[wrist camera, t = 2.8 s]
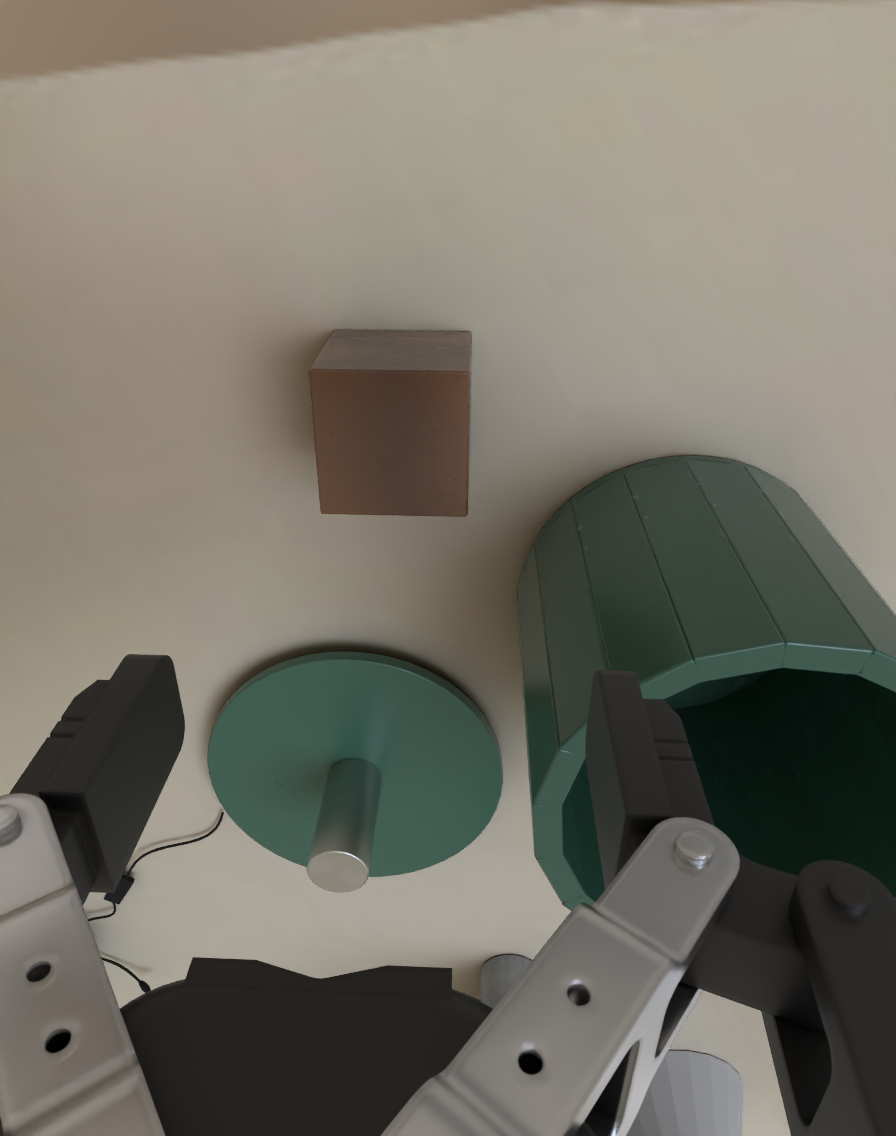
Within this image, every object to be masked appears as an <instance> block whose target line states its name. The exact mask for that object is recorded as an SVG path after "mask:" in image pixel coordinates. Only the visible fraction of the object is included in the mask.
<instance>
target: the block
mask: <svg viewBox="0 0 896 1136" xmlns="http://www.w3.org/2000/svg"><path fill="white" fill-rule="evenodd" d="M471 354H472V333H471V332H468V331H393V330H334V331H333V333H332V335H331V336H330V338H329V339H328V341H327V342H326V344H325V346H324V347H323V349H322V350H321V352H320V354H319V355H318V357H317V358H316V360H315V361H314V363H313V365H312V366H311V368H310V369H309V379H310V391H311V403H312V415H313V427H314V439H315V451H316V462H317V474H318V486H319V498H320V510H321V513H322V514H359V515H409V516H460V517H465V516H467V515H468V489H469V460H470V407H471Z"/></svg>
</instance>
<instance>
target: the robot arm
mask: <svg viewBox="0 0 896 1136" xmlns="http://www.w3.org/2000/svg"><path fill="white" fill-rule="evenodd" d="M184 731H185V721H184V714H183V709H182V704H181V699H180V694H179V689H178V684H177V679H176V674H175V669H174V665H173V661H172V659H171V658H170V657H169V656H167V655H138V654H129V655H127V656H125V657H124V659H123V660H122V662H121V663H120V665H119V666H118V668H117V670H116V671H115V673H114V674H113V676H112V677H111V679H110V680H97V681H96V682H94V683H93V684H92V685H90V686H89V687H88V688H86V689H85V690H84V691H82V692H81V693H80V694H78V695H77V696H76V697H75V698H74V699H73V701H72V702H71V704H70V705H69V707H68V708H67V710H66V711H65V712H64V714H63V715H62V717H61V721H58V723H57V724H56V726H55V727H54V729H53V730H52V732H51V733H50V738H49V737H47V739H46V740H45V742H44V743H43V745H42V746H41V748H40V749H39V751H38V752H37V754H36V755H35V756H34V758H33V759H32V761H31V762H30V764H29V765H28V767H27V768H26V770H25V771H24V773H23V774H22V776H21V777H20V778H19V780H18V781H17V783H16V784H15V786H14V787H13V789H12V790H11V792H10V793H9V794H7V795H3V796H0V1136H626V1135H627V1133H628V1131H629V1129H630V1127H631V1125H632V1123H633V1121H634V1119H635V1117H636V1115H637V1113H638V1111H639V1109H640V1107H641V1104H642V1102H643V1100H644V1097H645V1095H646V1092H647V1090H648V1087H649V1085H650V1083H651V1081H652V1079H653V1077H654V1075H655V1073H656V1071H657V1069H658V1067H659V1066H660V1064H661V1062H662V1060H663V1059H664V1057H665V1055H666V1053H667V1052H668V1050H669V1048H670V1047H671V1045H672V1043H673V1041H674V1040H675V1038H676V1036H677V1034H678V1033H679V1031H680V1029H681V1028H682V1026H683V1024H684V1022H685V1021H686V1019H687V1017H688V1015H689V1014H690V1012H691V1010H692V1008H693V1007H694V1005H695V1003H696V1002H697V1000H698V998H699V996H700V995H701V993H702V991H703V990H704V991H707V992H710V993H713V994H716V995H718V996H721V997H724V998H727V999H730V1000H732V1001H735V1002H738V1003H741V1004H744V1005H746V1006H749V1007H752V1008H755V1009H758V1010H760V1011H761V1012H762V1016H763V1020H764V1024H765V1029H766V1033H767V1037H768V1041H769V1045H770V1049H771V1054H772V1058H773V1062H774V1066H775V1070H776V1074H777V1079H778V1083H779V1087H780V1091H781V1095H782V1099H783V1103H784V1108H785V1112H786V1116H787V1120H788V1124H789V1128H790V1133H791V1136H896V901H895V899H894V897H893V895H892V894H891V893H890V891H889V890H888V889H887V888H886V887H885V886H884V885H883V884H882V882H880V881H879V880H878V879H877V878H876V877H874V876H873V875H871V874H870V873H868V872H867V871H865V870H863V869H861V868H859V867H857V866H854V865H852V864H849V863H846V862H842V861H836V860H820V861H816V862H812V863H810V864H808V865H807V866H805V867H804V868H803V869H802V870H801V872H800V874H799V875H798V876H797V875H793V874H790V873H787V872H783V871H780V870H777V869H773V868H770V867H767V866H764V865H761V864H758V863H756V862H753V861H751V860H749V859H747V858H746V857H744V856H742V855H741V854H739V853H738V851H737V849H736V847H735V845H734V844H733V842H732V841H731V840H730V839H729V838H728V837H727V835H726V834H724V833H723V832H722V831H721V830H719V829H718V828H716V827H715V824H714V821H713V818H712V815H711V812H710V809H709V806H708V803H707V799H706V796H705V793H704V790H703V787H702V784H701V780H700V777H699V774H698V771H697V768H696V765H695V761H693V755H692V752H691V749H690V746H689V744H688V742H687V740H688V739H687V736H686V733H685V730H684V727H683V723H682V720H681V718H680V717H679V716H678V715H677V713H676V712H675V711H674V710H673V709H672V708H671V707H670V706H669V705H668V704H667V702H666V701H665V700H664V699H643V697H642V693H641V689H640V685H639V682H638V678H637V674H636V672H635V671H614V670H595V672H594V675H593V681H592V689H591V697H590V705H589V713H588V721H587V729H586V741H585V753H586V766H587V773H588V780H589V786H590V793H591V799H592V806H593V813H594V819H595V826H596V832H597V839H598V845H599V852H600V858H601V865H602V872H603V878H604V885H605V891H604V892H603V894H602V895H601V896H600V897H599V899H598V900H597V901H596V902H595V903H594V904H593V905H592V906H589V905H588V904H586V903H581V904H579V905H578V906H576V907H575V908H574V909H573V910H572V911H571V913H570V914H569V915H568V916H567V917H566V919H565V920H564V921H563V922H562V924H561V925H560V926H559V928H558V929H557V930H556V931H555V933H554V934H553V935H552V936H551V938H550V939H549V940H548V941H547V943H546V944H545V945H544V946H543V948H542V949H541V950H540V951H539V953H538V954H537V955H536V956H535V958H534V959H533V960H532V961H531V963H530V964H529V965H528V966H527V968H526V969H525V970H524V971H523V973H522V974H521V975H520V976H519V978H518V979H517V980H516V981H515V983H514V984H513V985H512V986H511V988H510V989H509V990H508V991H507V993H506V994H505V995H504V997H503V998H502V999H501V1000H500V1002H499V1003H498V1004H497V1005H496V1007H495V1008H494V1009H493V1008H491V1007H489V1006H488V1005H486V1004H485V1003H483V1002H481V1001H480V1000H478V999H475V998H473V997H471V996H469V995H467V994H464V993H462V992H459V991H456V990H453V989H452V968H433V967H409V966H383V967H378V968H373V969H369V970H364V971H359V972H354V973H349V974H344V975H339V976H334V977H329V978H323V979H317V978H312V977H309V976H306V975H302V974H299V973H296V972H293V971H290V970H286V969H283V968H280V967H277V966H274V965H270V964H267V963H264V962H261V961H257V960H243V959H219V958H195V957H193V958H192V961H191V964H190V967H189V970H188V973H187V976H186V979H184V980H180V981H176V982H173V983H170V984H166V985H163V986H161V987H158V988H156V989H154V990H151V991H149V992H147V993H145V994H143V995H141V996H140V997H138V998H136V999H134V1000H132V1001H131V1002H129V1003H128V1004H126V1005H125V1006H123V1007H122V1008H120V1009H119V1006H118V1003H117V1000H116V997H115V995H114V992H113V989H112V986H111V984H110V981H109V978H108V975H107V972H106V970H105V967H104V964H103V961H102V958H101V956H100V953H99V950H98V947H97V944H96V942H95V939H94V936H93V933H92V930H91V928H90V925H89V922H88V919H87V916H86V914H85V911H84V908H83V904H84V902H85V900H86V898H87V896H88V894H89V892H104V893H114V892H115V890H116V888H117V886H118V884H119V881H120V879H121V877H122V875H123V873H124V871H125V869H126V866H127V864H128V862H129V860H130V858H131V856H132V853H133V851H134V849H135V847H136V845H137V843H138V841H139V838H140V836H141V834H142V832H143V830H144V828H145V826H146V823H147V821H148V819H149V817H150V815H151V813H152V810H153V808H154V806H155V804H156V802H157V800H158V798H159V795H160V793H161V791H162V789H163V787H164V785H165V782H166V780H167V778H168V776H169V774H170V772H171V770H172V767H173V765H174V763H175V761H176V759H177V757H178V755H179V752H180V750H181V747H182V744H183V739H184Z"/></svg>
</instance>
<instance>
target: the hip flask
mask: <svg viewBox="0 0 896 1136" xmlns="http://www.w3.org/2000/svg"><path fill="white" fill-rule="evenodd" d="M530 963H531V960H529V959H527V958H525V957H522V956H518V955H502V956H497V957H494V958H492V959H490V960H489V961H487V962H486V963H485V964H484V965H483V967H482V968H481V1002H483V1003H485V1004H486V1005H488V1006H489V1007H491V1008H493V1009H494V1008H495V1007H496V1005H497V1004H498V1003H499V1002H500V1000H501V999H502V998H503V997H504V995H505V994H506V993H507V991H508V990H509V989H510V988H511V986H512V985H513V984H514V983H515V981H516V980H517V979H518V978H519V976H520V975H521V974H522V973H523V971H524V970H525V969H526V968H527V966H528V965H529V964H530Z"/></svg>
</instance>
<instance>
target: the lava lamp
mask: <svg viewBox="0 0 896 1136" xmlns="http://www.w3.org/2000/svg"><path fill="white" fill-rule="evenodd" d="M742 1099H743V1084H742V1081H741V1079H740V1076H739V1073H738V1072H737V1071H736V1070H735V1069H733V1068H732V1067H731V1066H730V1065H729V1064H728V1063H726V1062H724V1061H722V1060H720V1059H717V1058H715V1057H713V1056H711V1055H707V1054H702V1053H697V1052H691V1051H668V1052H667V1053H666V1055H665V1057H664V1059H663V1060H662V1062H661V1064H660V1066H659V1067H658V1069H657V1071H656V1073H655V1075H654V1077H653V1079H652V1081H651V1083H650V1085H649V1087H648V1090H647V1092H646V1095H645V1097H644V1100H643V1102H642V1104H641V1107H640V1109H639V1111H638V1113H637V1115H636V1117H635V1119H634V1121H633V1123H632V1125H631V1127H630V1129H629V1131H628V1133H627V1135H626V1136H742Z"/></svg>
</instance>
